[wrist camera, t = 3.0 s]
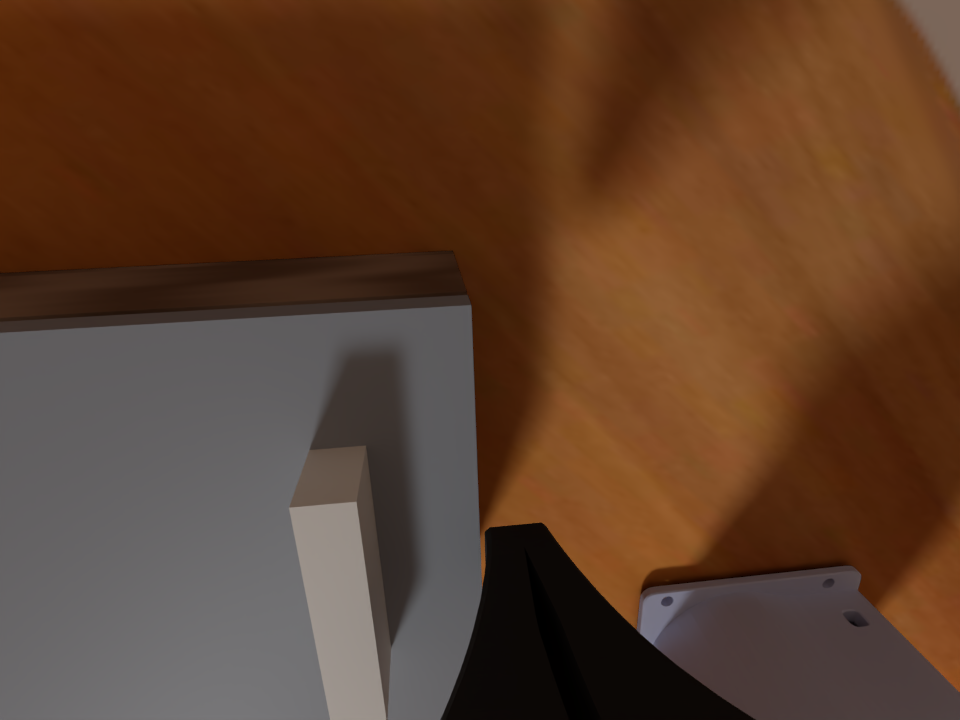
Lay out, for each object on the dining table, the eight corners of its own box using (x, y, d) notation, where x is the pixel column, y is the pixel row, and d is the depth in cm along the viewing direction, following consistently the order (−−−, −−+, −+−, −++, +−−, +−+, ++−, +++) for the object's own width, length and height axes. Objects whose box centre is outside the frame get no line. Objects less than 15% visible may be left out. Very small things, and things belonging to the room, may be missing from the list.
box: (452, 250, 16) (466, 291, 12) (467, 562, 21) (482, 680, 16) (-45, 275, 15) (-247, 331, 11) (84, 601, 20) (-19, 741, 15)
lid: (467, 294, 12) (483, 337, 9) (483, 689, 16) (496, 794, 13) (-266, 336, 10) (-495, 400, 8) (-27, 752, 15) (-122, 882, 12)
